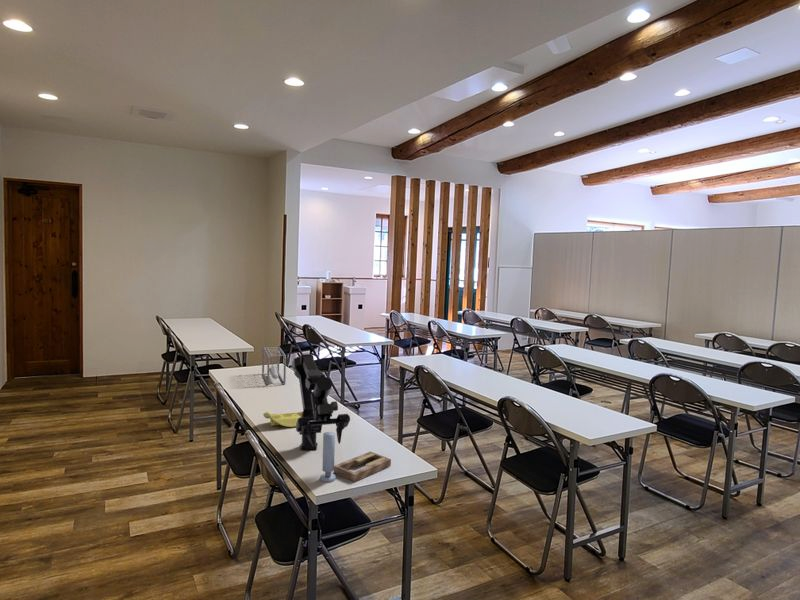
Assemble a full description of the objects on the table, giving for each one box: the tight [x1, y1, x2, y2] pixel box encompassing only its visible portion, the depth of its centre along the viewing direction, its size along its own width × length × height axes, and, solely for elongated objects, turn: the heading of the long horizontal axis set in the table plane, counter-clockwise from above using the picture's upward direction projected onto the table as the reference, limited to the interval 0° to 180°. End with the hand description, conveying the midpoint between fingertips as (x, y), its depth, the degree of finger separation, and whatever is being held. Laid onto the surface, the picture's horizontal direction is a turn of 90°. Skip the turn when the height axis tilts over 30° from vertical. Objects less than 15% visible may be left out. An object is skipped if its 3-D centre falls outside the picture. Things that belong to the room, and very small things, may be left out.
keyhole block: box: [333, 451, 392, 483], centre depth 185 cm, size 19×10×3 cm, turn 140°
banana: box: [262, 411, 303, 428], centre depth 230 cm, size 20×7×10 cm
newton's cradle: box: [261, 346, 287, 386], centre depth 309 cm, size 30×10×18 cm, turn 21°
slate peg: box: [319, 431, 336, 483], centre depth 175 cm, size 5×5×16 cm
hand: (326, 444), depth 177 cm, fingers open, 9 cm apart
